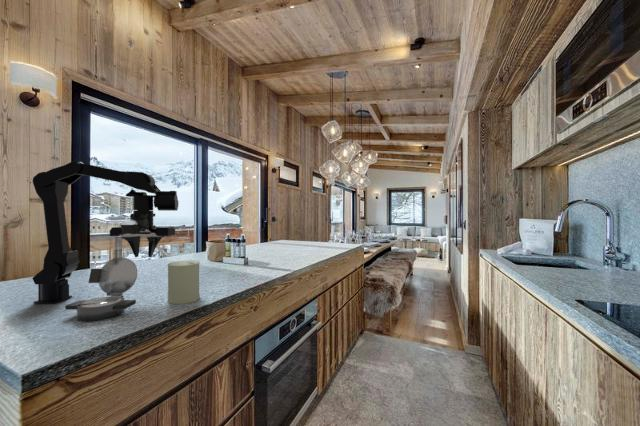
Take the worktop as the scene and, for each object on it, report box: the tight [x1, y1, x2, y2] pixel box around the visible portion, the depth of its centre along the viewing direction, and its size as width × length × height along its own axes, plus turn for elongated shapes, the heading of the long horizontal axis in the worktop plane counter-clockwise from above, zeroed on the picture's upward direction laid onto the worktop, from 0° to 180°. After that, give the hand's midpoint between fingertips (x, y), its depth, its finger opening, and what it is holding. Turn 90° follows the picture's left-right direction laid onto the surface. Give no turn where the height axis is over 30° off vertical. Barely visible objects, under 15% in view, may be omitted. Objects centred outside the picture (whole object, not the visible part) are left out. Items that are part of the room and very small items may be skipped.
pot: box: [65, 295, 137, 323], centre depth 76 cm, size 15×11×4 cm
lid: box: [88, 256, 138, 297], centre depth 82 cm, size 13×11×1 cm
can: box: [167, 260, 201, 305], centre depth 89 cm, size 9×9×12 cm
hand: (143, 257), depth 94 cm, fingers open, 4 cm apart
